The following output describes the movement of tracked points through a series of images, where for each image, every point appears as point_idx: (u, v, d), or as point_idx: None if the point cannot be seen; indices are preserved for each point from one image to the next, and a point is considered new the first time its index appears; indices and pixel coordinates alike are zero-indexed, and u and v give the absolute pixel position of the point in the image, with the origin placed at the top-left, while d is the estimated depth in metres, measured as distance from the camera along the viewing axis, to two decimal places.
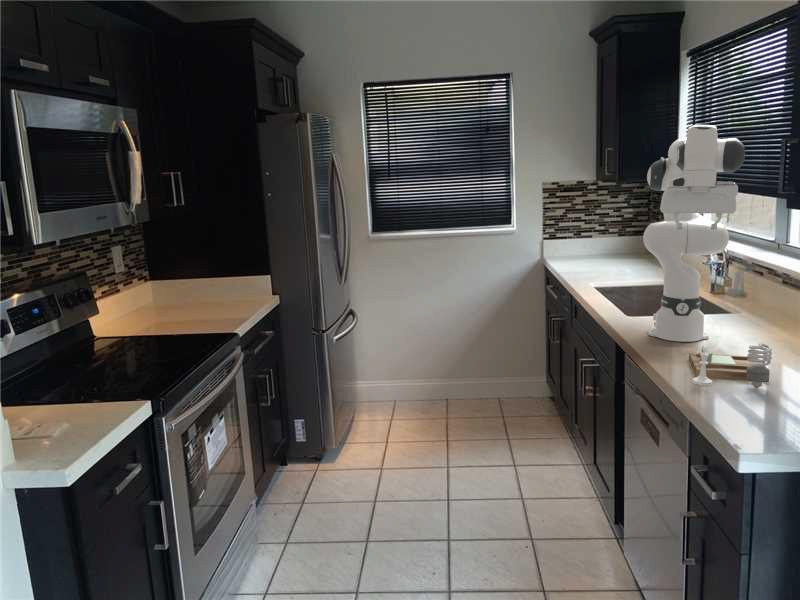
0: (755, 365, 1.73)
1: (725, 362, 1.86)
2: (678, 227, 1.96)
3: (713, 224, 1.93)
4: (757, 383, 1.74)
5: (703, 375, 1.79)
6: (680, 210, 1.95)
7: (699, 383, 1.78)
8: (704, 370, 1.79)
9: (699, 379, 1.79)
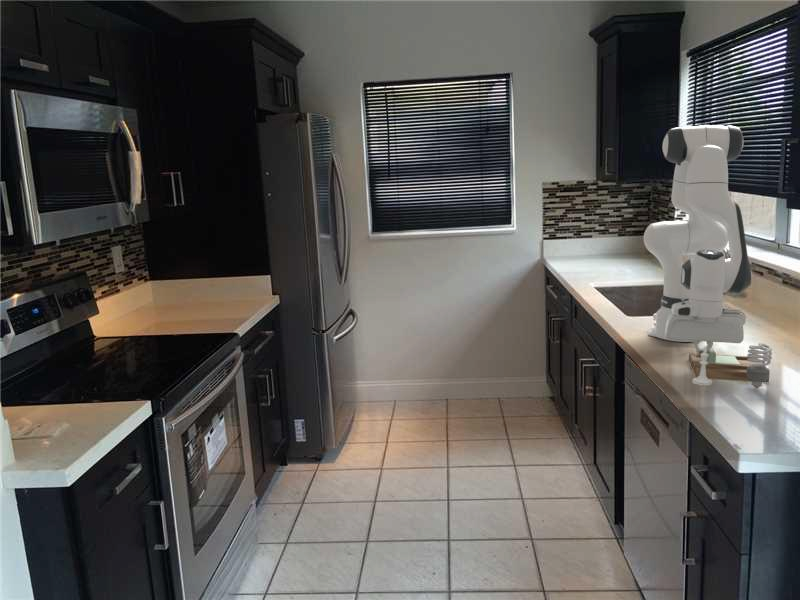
0: (755, 365, 1.73)
1: (729, 362, 1.86)
2: (698, 354, 1.90)
3: None
4: (757, 383, 1.74)
5: (703, 375, 1.79)
6: (685, 338, 1.89)
7: (699, 383, 1.78)
8: (705, 370, 1.79)
9: (699, 379, 1.79)
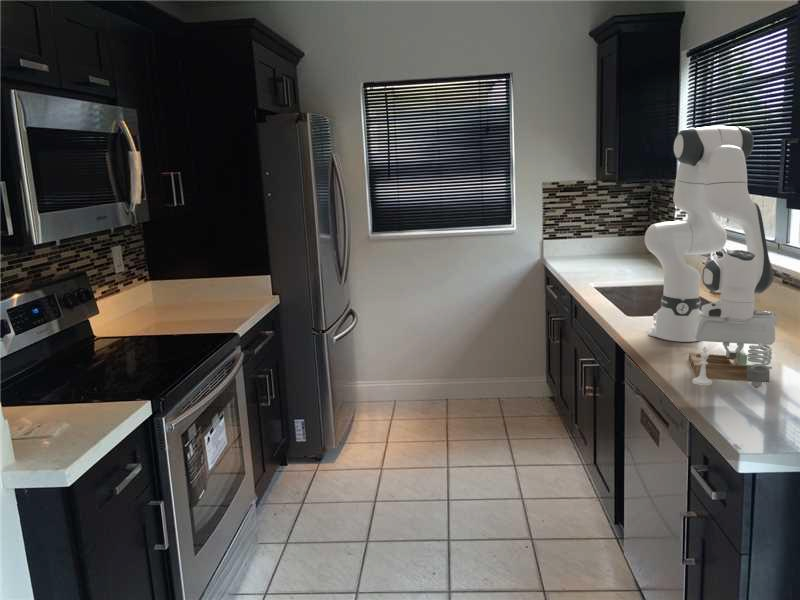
0: (755, 365, 1.73)
1: None
2: (728, 356, 1.87)
3: (734, 353, 1.87)
4: (757, 383, 1.74)
5: (703, 375, 1.79)
6: (715, 339, 1.87)
7: (699, 383, 1.78)
8: (704, 370, 1.79)
9: (699, 379, 1.79)
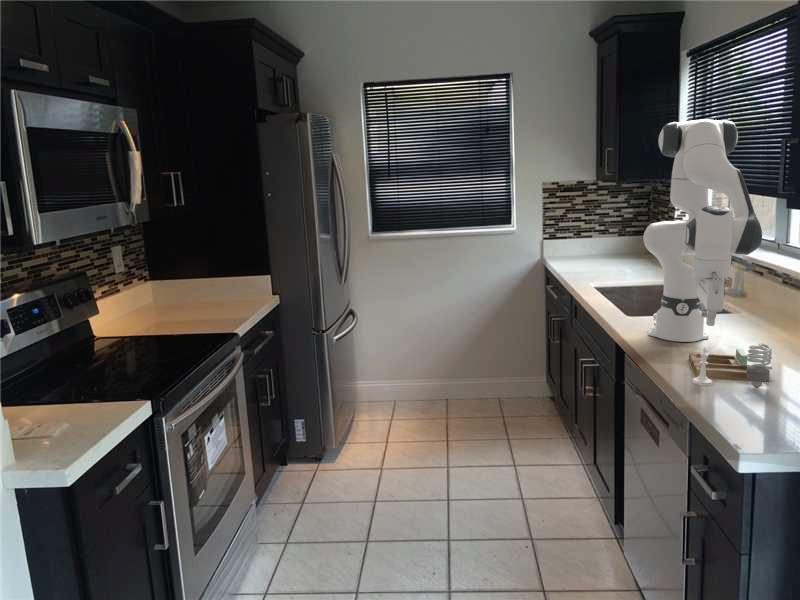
0: (755, 365, 1.73)
1: None
2: (700, 315, 1.81)
3: (706, 319, 1.72)
4: (757, 383, 1.74)
5: (703, 375, 1.79)
6: (698, 297, 1.80)
7: (699, 383, 1.78)
8: (704, 370, 1.79)
9: (699, 379, 1.79)
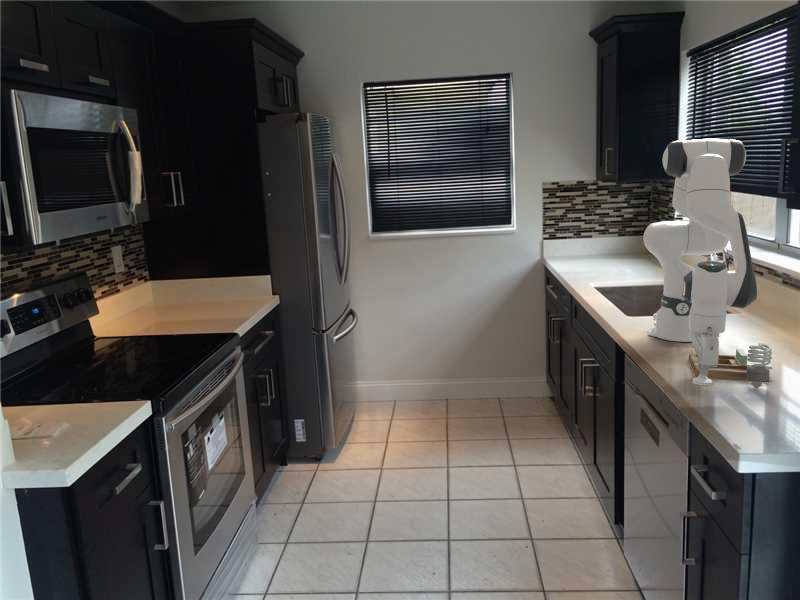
0: (755, 365, 1.73)
1: None
2: (698, 369, 1.81)
3: (700, 369, 1.78)
4: (757, 383, 1.74)
5: None
6: (694, 348, 1.83)
7: (699, 383, 1.78)
8: None
9: (699, 379, 1.79)
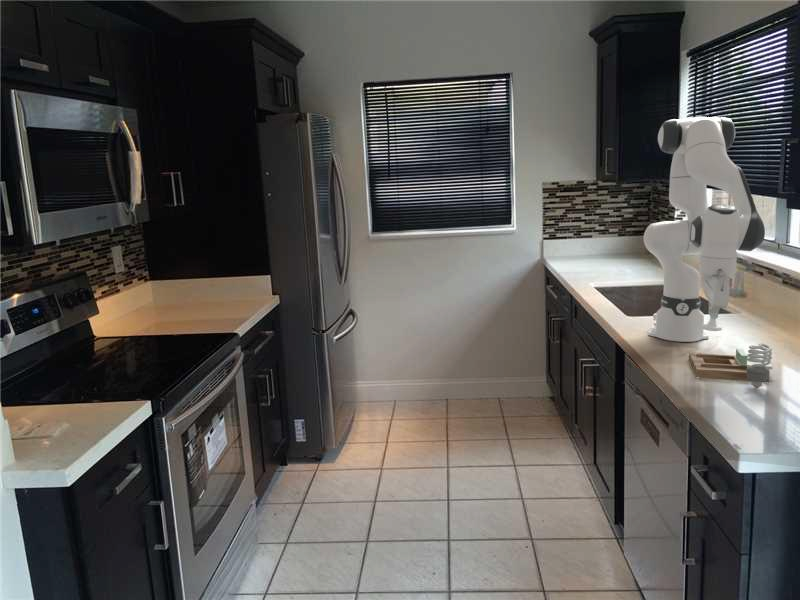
0: (755, 365, 1.73)
1: None
2: None
3: (710, 312, 1.81)
4: (757, 383, 1.74)
5: (713, 320, 1.81)
6: (705, 293, 1.85)
7: (709, 329, 1.81)
8: None
9: (709, 325, 1.82)
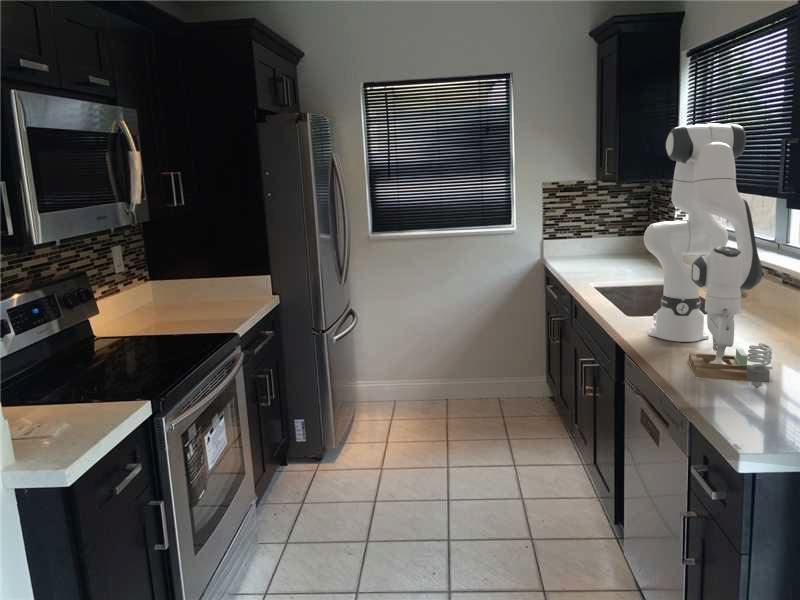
0: (755, 365, 1.73)
1: None
2: (713, 348, 1.92)
3: None
4: (757, 383, 1.74)
5: (719, 359, 1.87)
6: (710, 330, 1.93)
7: None
8: None
9: (715, 363, 1.88)
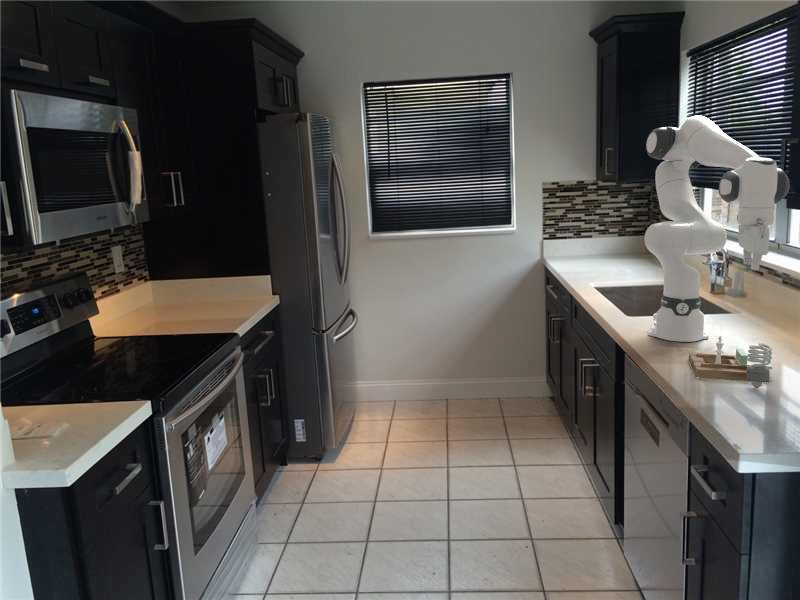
0: (755, 365, 1.73)
1: None
2: (744, 262, 1.92)
3: (751, 264, 1.83)
4: (757, 383, 1.74)
5: (718, 362, 1.88)
6: (742, 245, 1.91)
7: None
8: (720, 358, 1.88)
9: None
